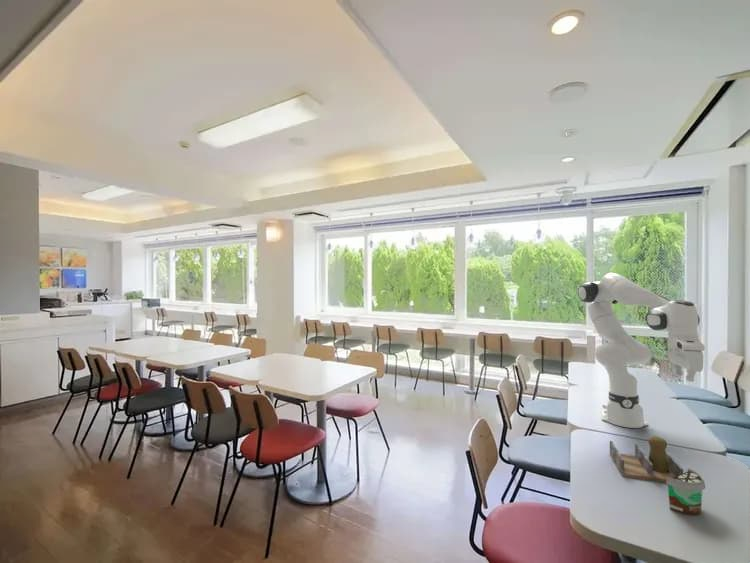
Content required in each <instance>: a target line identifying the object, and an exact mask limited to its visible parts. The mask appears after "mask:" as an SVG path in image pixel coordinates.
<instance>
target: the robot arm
mask: <svg viewBox="0 0 750 563" xmlns="http://www.w3.org/2000/svg"><path fill="white" fill-rule="evenodd" d="M577 294H578V298H579V299H580V301H582V302H584V303H587V304H588V303H589V304H588V306H587V310H588V315H589V318H590V320H591V322H592V324H593V326H594V328H595V330H596V332H597V334H598V336H599V337H600V338H601V339H603V340H606V341H607V342H606V343H602V344H600V345H597V346H596V348H595V350H594V356H595V359H596V361H597V362H598V363H599V364H600V365H601V366H603V367H604V369H605V370H606V372H607V375H608V381H609V391H608V399H607V400H606V401H605V402H606V403H602V409H601V414H600V415H601V418H600V419H601V421H604V422H608V423H610V424H613V425H616V426H619V427H622V428H630V429H640V428H643V427H644V426H645V427H647V426H649V423H648V422H647V421H645V415H644V408H643V407H642V406H641V404H639V403H640V398H639V396H640V395H639V394H638V393H639V392H638V380H637V377H635V376H634V375H633V374H631V373H629V371H628V366H637V365H638V366H639V365H642V364H645V363H648V362H649V361H650V359H651V357H652V352H651V350H650V347H648V346H647V345H646V344H645V343H643V342H640V341H638V339H637V340H636V338H634V337H633V336H632V335H631V334H630V333H629V332H627V330H626V329H625V328H624V327H623V325H622V323H621V322H620V320H619V319H618V317H617V316H616V313H615V312H614V310H613V308H612V305H613V304H614V305H616V304H618V303H620V304H622V305H626V306H637V307H638V306H639V307H647V308H651V309H649V310H648V312H647V313H646V315H645V321H646V325H647V326H648V327H649V328H650V329H651V330H653V331H658V332H668V333H667V335H668V336H667V337H668V346H667V359H668V361H669V362H671V363H673V364H672V365H673V367H674V370H675V375H677V376H683V370H682V368H683V369H685V370H686V372H687V375H686V376H685V378H686V381H688V382H689V383H690V382H694V381H695V376H696V373H699V372H703V368H704V353H703V352H704V351H705V345H704V343H702V342H701V340H700V339H699V336H700V335H699V332H698V327H699V324H700V320H701V319H700V316H699V314H698V309H697V307H696V305H695V303H694V302H692V301H690V300H689V301H688V300H681V299H680V300H679V299H674V300H670V299H668V298H666V297H664V296H662V295H661V294H658V293H657V292H654V291H651V290H649V289H647V288H645V287H643V286H641V285H639V284H637V283H635V282H634V281H632V280H630V279H629V278H627V277H625V276H624V275H621V274H619V273H616V272H615V273H614V272H609V273H607V274H604V275H603V276H602V277H601V279H600V280H597V281H592V282H589V281H588V282H585V283H581V284H580V285H579V286H578V290H577Z"/></svg>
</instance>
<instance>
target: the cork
mask: <svg viewBox="0 0 750 563" xmlns="http://www.w3.org/2000/svg"><path fill="white" fill-rule="evenodd" d="M647 442H648V445H650V446H649V455H648V458H649V460H650V461H651V463H652V464H653V470H654V471H656V472H660V473H668V472H669V467H668V462H667V457H666V452H665V450H666V449H667V447H668V444H667V440H665V439H664V438H662V437H660V436H649V438H648V441H647Z"/></svg>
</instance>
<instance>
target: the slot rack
mask: <svg viewBox="0 0 750 563" xmlns="http://www.w3.org/2000/svg"><path fill="white" fill-rule="evenodd" d="M665 452H666V457H667V462H668V467H669V472H668V473H660V472H656V471H654V470H653V464H652V463H651V461H650V460H649V456H647V455H646V454H645V452H644V451H643V450H642V449H641V447H640V446H639V444H634V455H631V454H625V453H620V452H619V450H618V449H617V447H616V445H615V443H614V442H613V441H612V440H609V456H610V458H611V460H612V461H613V463H614V464H615V467H616V469H617V471H618V472H619V474H620V475H621V477H624V478H632V479H637V480H638V479H639V480H643V481H644V480H645V481H650V482H656V483H664V484H666V482H667V477H670V478H673V477H675V476H676V475H678V474H682V473H684V468H683V467H682V465H680V463H678V462H677V461H676V460H675V458H674V457H673V456H672V455H671V454H670V453H669V452H668V451H667V449H665Z"/></svg>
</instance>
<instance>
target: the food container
mask: <svg viewBox="0 0 750 563" xmlns="http://www.w3.org/2000/svg"><path fill="white" fill-rule="evenodd" d="M665 485H667V491H668V501H669V510H671V511H673V512H676V513H678V514H681V515H685V516H692V517H693V516H694V517H695V516H699V515H701V513H702V501H703V498H702V497H703V490H705V489H706V483H705V480H704V478H703V476H702V475H701V474H699V473H698V472H697V471H695V470H693V469H691V468H688V467H687V471H686V472H683V473H682V474H678V475H676V476H675V477H673V478H670V477H667V482H666V483H665Z"/></svg>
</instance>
